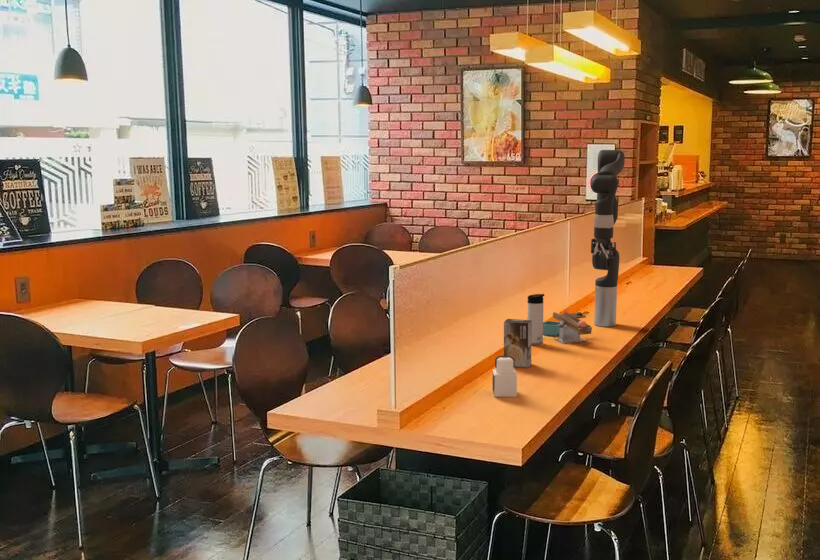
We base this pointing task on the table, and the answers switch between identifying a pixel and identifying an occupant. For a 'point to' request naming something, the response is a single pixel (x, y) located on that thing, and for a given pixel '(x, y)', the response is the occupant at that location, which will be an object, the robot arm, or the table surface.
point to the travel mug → (536, 318)
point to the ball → (582, 324)
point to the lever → (573, 322)
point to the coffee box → (518, 341)
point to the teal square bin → (551, 328)
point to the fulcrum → (568, 334)
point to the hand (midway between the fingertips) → (602, 266)
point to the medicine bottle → (504, 377)
